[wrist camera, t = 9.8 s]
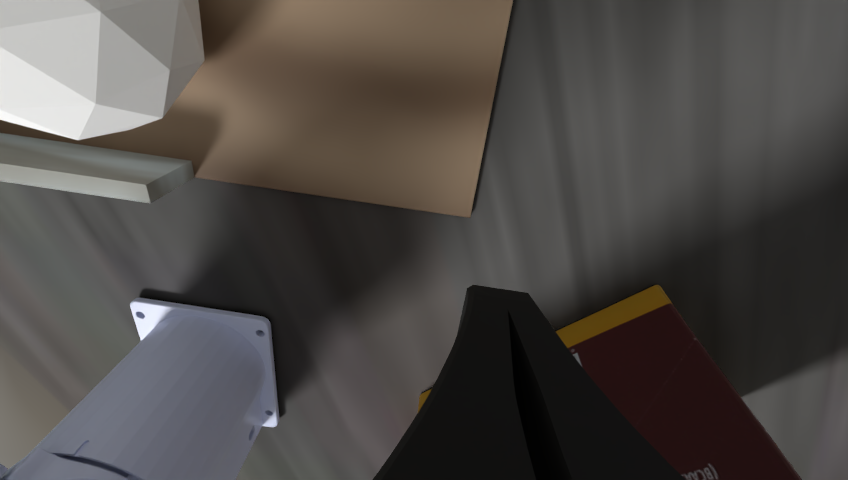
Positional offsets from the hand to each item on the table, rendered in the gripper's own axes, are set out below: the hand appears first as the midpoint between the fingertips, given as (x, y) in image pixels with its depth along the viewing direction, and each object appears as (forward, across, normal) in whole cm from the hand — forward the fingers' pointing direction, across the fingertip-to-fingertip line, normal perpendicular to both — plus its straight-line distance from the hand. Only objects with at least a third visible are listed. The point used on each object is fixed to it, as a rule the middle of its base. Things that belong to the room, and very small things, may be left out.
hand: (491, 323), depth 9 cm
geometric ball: (+10, +14, -5) cm, 18 cm away
